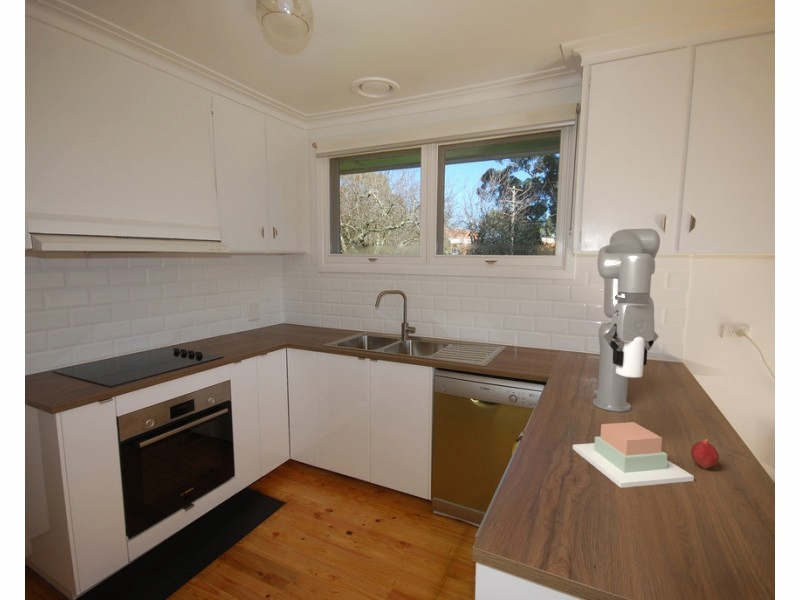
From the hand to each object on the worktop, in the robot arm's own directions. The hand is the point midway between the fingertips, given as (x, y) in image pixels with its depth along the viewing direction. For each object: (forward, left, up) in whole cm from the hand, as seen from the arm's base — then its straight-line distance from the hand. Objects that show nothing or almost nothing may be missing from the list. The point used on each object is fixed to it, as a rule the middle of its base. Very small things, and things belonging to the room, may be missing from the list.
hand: (629, 363), depth 109 cm
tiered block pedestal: (+4, -2, -26) cm, 27 cm away
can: (0, 0, -3) cm, 3 cm away
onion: (+9, +16, -26) cm, 32 cm away
